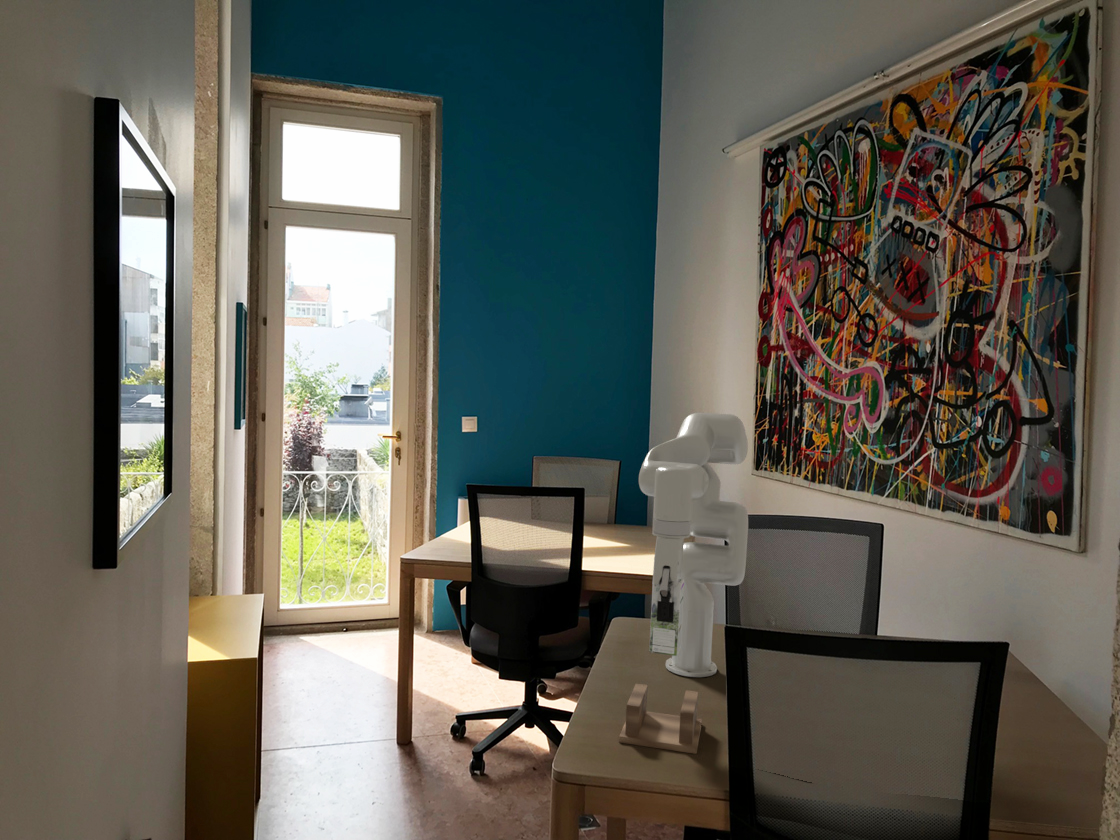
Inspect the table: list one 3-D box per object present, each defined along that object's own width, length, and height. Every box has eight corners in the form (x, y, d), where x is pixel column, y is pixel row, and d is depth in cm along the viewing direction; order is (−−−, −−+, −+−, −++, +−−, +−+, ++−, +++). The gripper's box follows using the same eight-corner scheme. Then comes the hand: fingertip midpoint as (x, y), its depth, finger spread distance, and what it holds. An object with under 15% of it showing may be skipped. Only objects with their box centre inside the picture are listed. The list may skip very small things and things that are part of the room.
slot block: (630, 714, 172) (631, 681, 172) (701, 724, 168) (703, 690, 168) (619, 742, 158) (620, 706, 158) (696, 753, 155) (698, 716, 155)
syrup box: (681, 648, 165) (684, 577, 165) (677, 657, 160) (680, 584, 159) (653, 644, 167) (656, 574, 166) (648, 653, 161) (652, 581, 161)
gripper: (658, 520, 171) (653, 604, 172) (646, 533, 155) (642, 626, 155) (693, 523, 170) (689, 608, 170) (686, 536, 153) (681, 631, 154)
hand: (666, 616), depth 163 cm, fingers closed on syrup box, 5 cm apart
